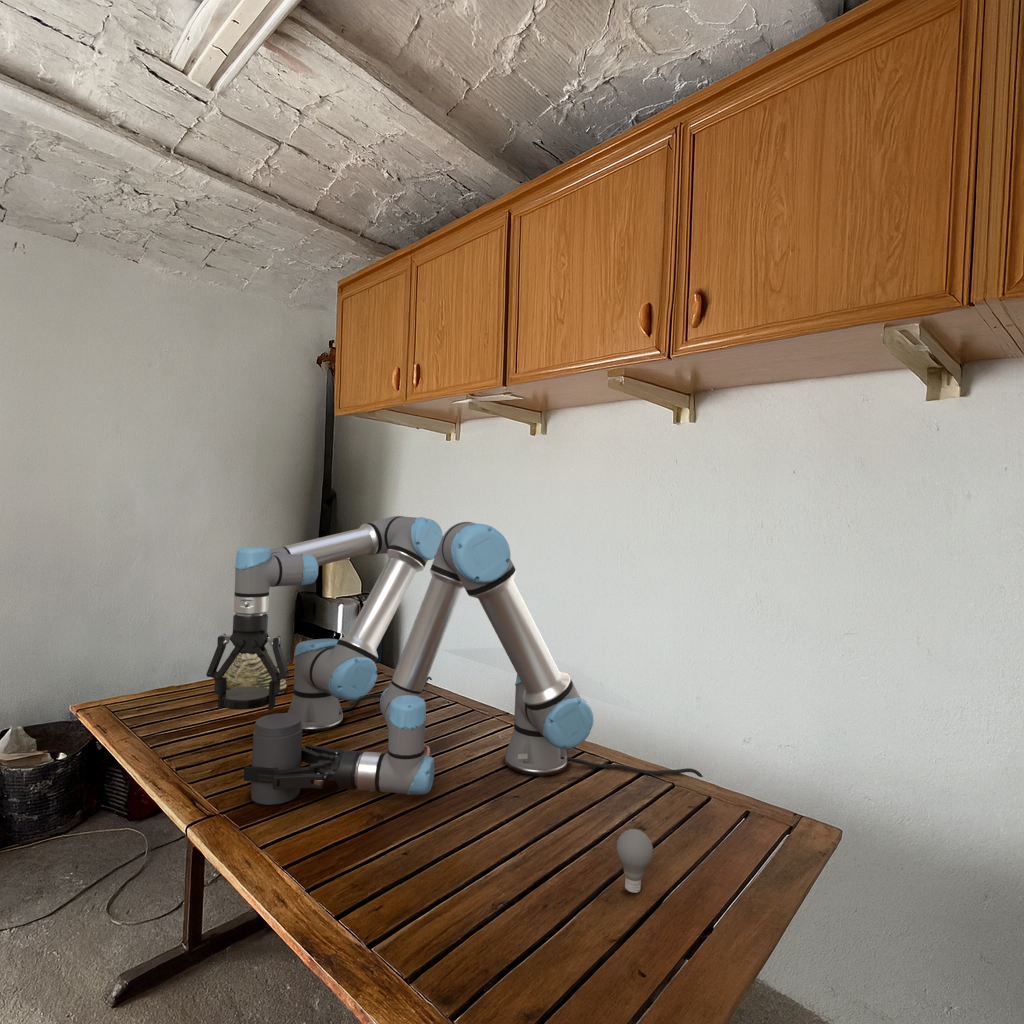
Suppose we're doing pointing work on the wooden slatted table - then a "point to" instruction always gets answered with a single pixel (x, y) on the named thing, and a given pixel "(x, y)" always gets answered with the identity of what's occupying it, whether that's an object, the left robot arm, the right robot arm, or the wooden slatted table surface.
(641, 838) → the light bulb
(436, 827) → the wooden slatted table surface
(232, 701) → the lid
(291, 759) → the jar
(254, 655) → the fossil
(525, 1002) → the wooden slatted table surface
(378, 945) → the wooden slatted table surface
